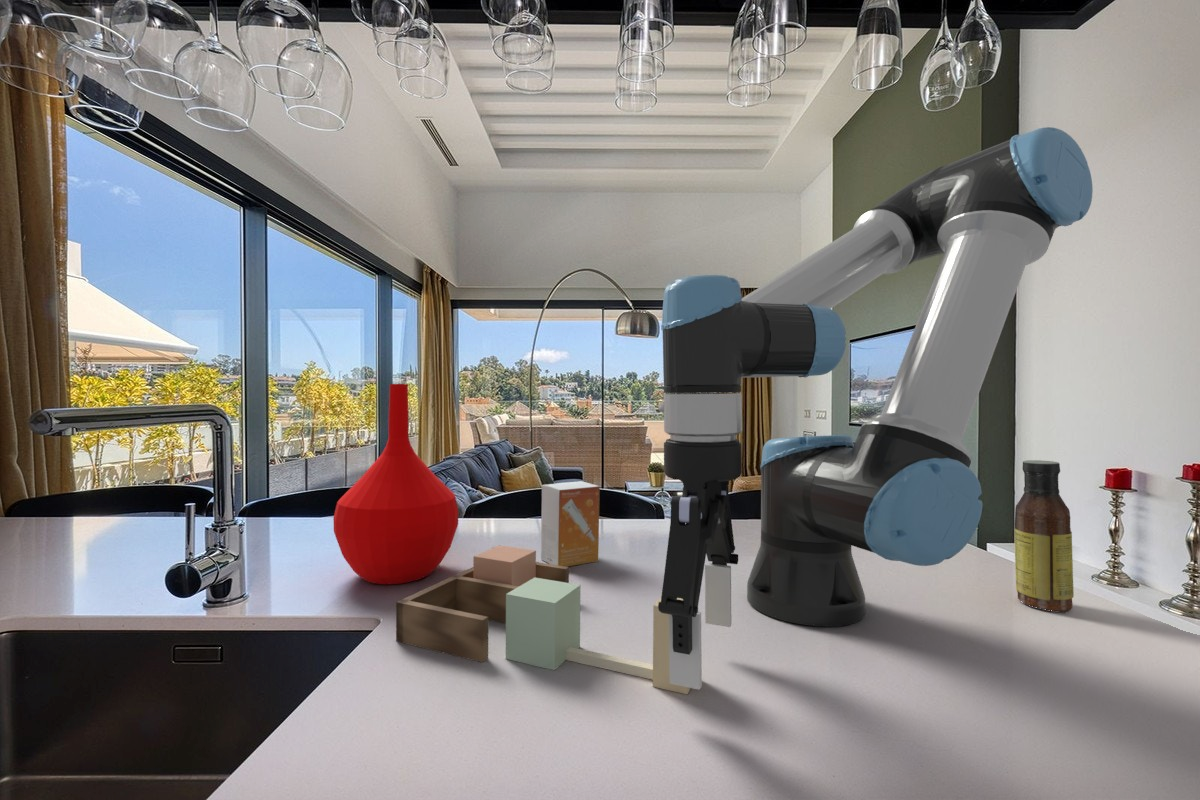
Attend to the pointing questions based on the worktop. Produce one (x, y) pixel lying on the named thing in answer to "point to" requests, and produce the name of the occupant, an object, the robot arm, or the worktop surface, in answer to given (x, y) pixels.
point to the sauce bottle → (1043, 540)
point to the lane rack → (460, 612)
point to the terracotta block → (505, 565)
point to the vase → (396, 510)
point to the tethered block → (572, 633)
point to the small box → (570, 523)
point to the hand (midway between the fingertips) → (703, 651)
